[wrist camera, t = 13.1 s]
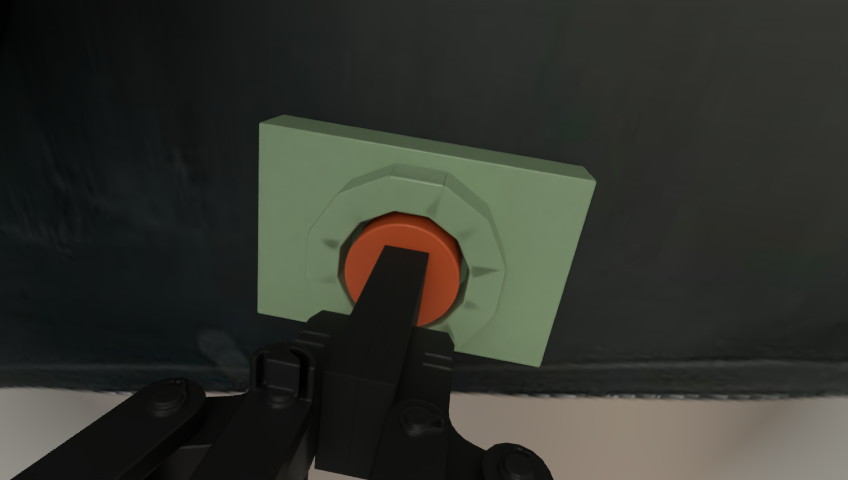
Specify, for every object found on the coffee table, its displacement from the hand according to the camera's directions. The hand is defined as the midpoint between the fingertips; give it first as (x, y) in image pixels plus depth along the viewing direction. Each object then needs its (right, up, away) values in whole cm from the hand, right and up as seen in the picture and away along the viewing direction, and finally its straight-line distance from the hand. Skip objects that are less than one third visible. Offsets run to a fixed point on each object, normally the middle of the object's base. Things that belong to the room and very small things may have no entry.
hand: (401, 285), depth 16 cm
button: (0, +1, +2) cm, 2 cm away
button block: (0, +2, +4) cm, 5 cm away
